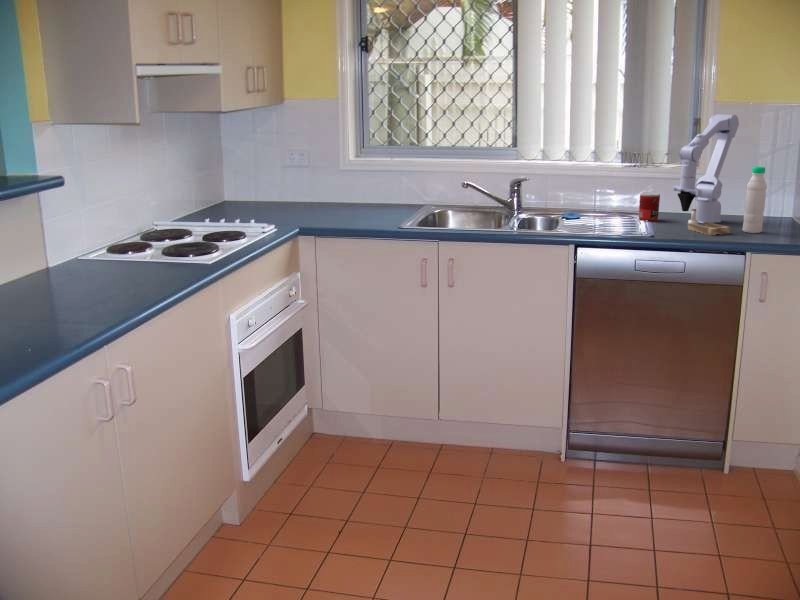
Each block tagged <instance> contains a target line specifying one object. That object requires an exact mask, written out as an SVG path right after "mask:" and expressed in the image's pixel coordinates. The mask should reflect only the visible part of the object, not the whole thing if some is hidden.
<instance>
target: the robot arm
mask: <svg viewBox="0 0 800 600" xmlns="http://www.w3.org/2000/svg"><path fill="white" fill-rule="evenodd" d="M739 125H740V121H739V116H737V114H722V113H721V114H720V113H719V114H718V113H713V114H712V115H711V117H710V118H709V121H708V125H707V127H706V128H704V131H702V133H697V134H696V135H695V136H694V138H693V139H692V140H691V141H690V142H689V143H688V144H687V145H684V146H682V147H681V149H680V151H679V153H678V157H679V159H680V161H679V162H680V165H681V169H680V179H679V185H672V192H673V191H674V192H678V193H677V197H678V199H679V201H680V206H681V211H682V212H689V210H690V208H691V204H692V202H693V200H694V199H695V200H696V205H695V206H696V207H695V209H697V210H696V220H698V224H703V222H709V223H714V224H718V223H721V222H722V221H721V214H722V213H721V211H722V203H721V201H720V200H719V199H720V197H721V196H722V189H723V183H722V181H721V180H720V179H719V177H720V174H721V171H722V169H723V166H724V163H725V161H726V158H727V154H728V152H729V149H730V146H731V142H732V141H733V138H735V137H736V134H737V131H738V130H739ZM713 136H714V137H716V138H717V141H716V144H715V145H714V146H715V147H714V150H713V152H712V155H711V158H710V161H709V163H708V166H707V169H706V172H705V174H704V175H703V176H701V177H699V178H698V179H697V180H696V177H697V166H698V161H700V160H701V156H702V154H703V151H704V150H705V149H706V148H707V147H708V145H709V144H710V139H711V138H712V137H713Z"/></svg>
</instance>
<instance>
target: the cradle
mask: <svg viewBox="0 0 800 600" xmlns="http://www.w3.org/2000/svg"><path fill="white" fill-rule="evenodd" d="M690 230H692V231H691V232H694V231H696V232H695V233H698V232H700V233H699V234H703V233H704V234H703V235H707V234H708V236H717V235H716V234H720V235H726V234H725V233H729V234H730V230H731V227H730V226H727V225H722V224H719V223H709V222H703V223H702V224H698V225H697V224H692V223H689V224H688V223H687V231H690Z"/></svg>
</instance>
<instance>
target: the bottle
mask: <svg viewBox="0 0 800 600" xmlns="http://www.w3.org/2000/svg"><path fill="white" fill-rule="evenodd" d="M696 210H697V209H696V208H691V213H690V214H691V215H690V219H688V220H687V225H688V224H689V223H692V224H697V225H699V223H698V220H696Z"/></svg>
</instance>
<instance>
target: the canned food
mask: <svg viewBox="0 0 800 600" xmlns="http://www.w3.org/2000/svg"><path fill="white" fill-rule="evenodd" d="M660 198H661V194H660V193H657V192H650V191H649V192H648V191H647V192H640V194H639V204H638V205H639V206H638V207H639V208H638V220H639V221H641V220H648V221H647V222H651V221H652V222H657V221H658V220H659V213H660V212H659V210H660V203H661V202H660V200H661V199H660Z"/></svg>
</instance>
